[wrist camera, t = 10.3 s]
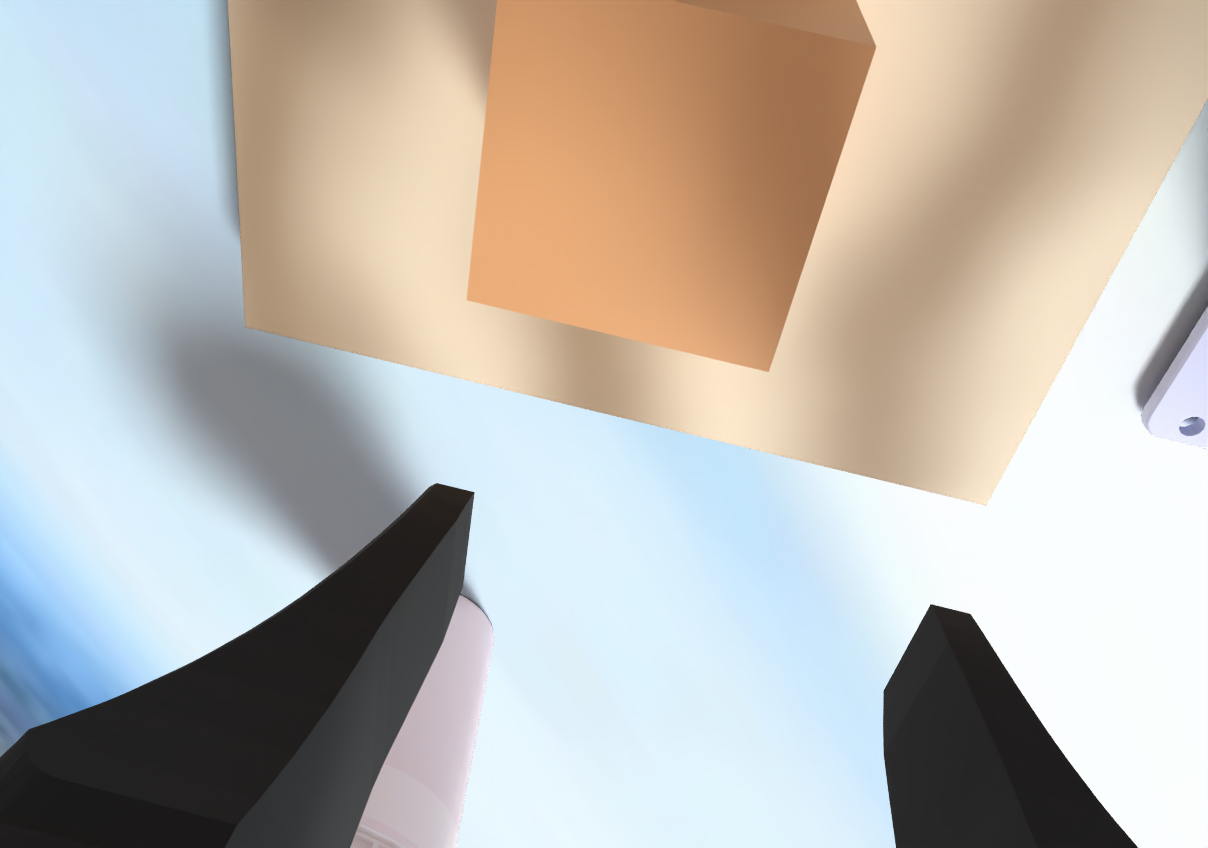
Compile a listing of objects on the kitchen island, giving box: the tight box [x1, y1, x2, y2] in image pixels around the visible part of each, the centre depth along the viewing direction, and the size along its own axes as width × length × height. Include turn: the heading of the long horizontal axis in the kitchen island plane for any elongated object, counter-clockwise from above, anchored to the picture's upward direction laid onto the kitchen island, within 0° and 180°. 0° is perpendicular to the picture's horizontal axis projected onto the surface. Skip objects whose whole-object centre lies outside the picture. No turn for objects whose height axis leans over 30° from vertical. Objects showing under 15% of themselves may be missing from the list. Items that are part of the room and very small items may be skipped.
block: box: [467, 0, 876, 372], centre depth 15 cm, size 5×5×5 cm
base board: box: [228, 0, 1208, 505], centre depth 18 cm, size 18×14×2 cm
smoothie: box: [350, 595, 494, 848], centre depth 24 cm, size 6×6×14 cm
